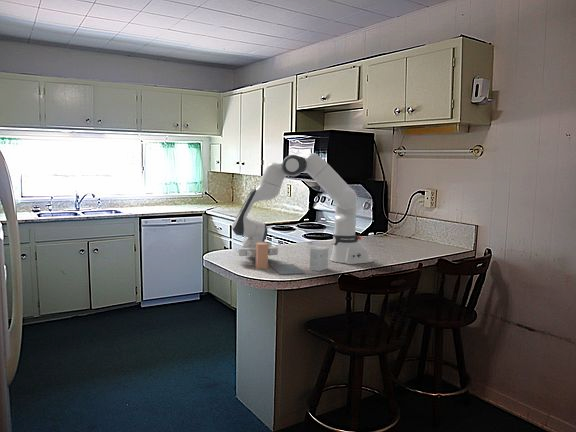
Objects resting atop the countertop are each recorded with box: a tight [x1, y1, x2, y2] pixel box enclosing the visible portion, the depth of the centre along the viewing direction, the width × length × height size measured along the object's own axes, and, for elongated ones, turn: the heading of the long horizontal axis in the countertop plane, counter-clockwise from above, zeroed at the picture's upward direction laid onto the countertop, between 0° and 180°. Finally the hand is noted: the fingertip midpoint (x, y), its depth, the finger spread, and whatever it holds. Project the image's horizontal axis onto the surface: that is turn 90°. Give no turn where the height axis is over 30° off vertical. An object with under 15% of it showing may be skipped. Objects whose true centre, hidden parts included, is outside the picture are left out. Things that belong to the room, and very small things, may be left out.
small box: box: [309, 246, 329, 272], centre depth 239 cm, size 8×6×10 cm
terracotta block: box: [254, 241, 269, 270], centre depth 239 cm, size 5×5×12 cm
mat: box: [269, 263, 306, 276], centre depth 236 cm, size 12×18×1 cm, turn 17°
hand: (261, 254), depth 239 cm, fingers open, 8 cm apart
